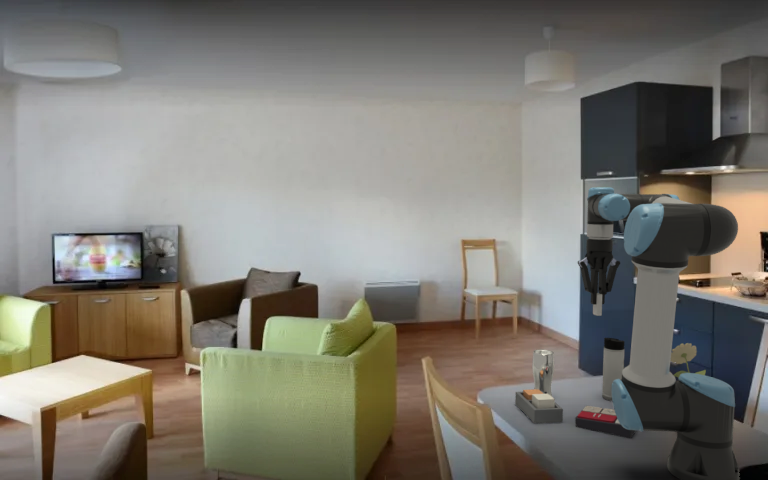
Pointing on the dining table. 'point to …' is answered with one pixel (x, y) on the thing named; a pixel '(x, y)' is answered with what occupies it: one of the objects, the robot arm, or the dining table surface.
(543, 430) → the dining table surface
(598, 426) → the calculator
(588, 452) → the dining table surface
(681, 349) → the flower in vase
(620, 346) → the travel mug
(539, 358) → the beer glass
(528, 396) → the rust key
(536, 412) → the key housing
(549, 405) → the cream key
